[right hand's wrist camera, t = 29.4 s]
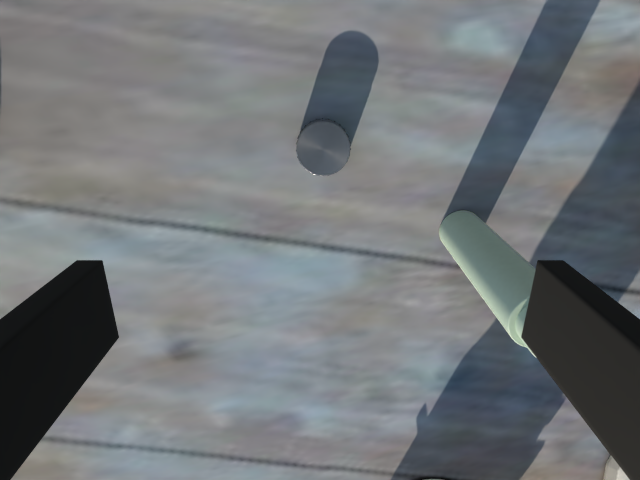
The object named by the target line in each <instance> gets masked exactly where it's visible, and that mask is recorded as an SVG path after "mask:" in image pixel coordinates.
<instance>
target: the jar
mask: <svg viewBox="0 0 640 480" xmlns="http://www.w3.org/2000/svg"><path fill="white" fill-rule="evenodd" d="M439 236H440V239H441V241H442V243H443V244H444V245H445V247H446V248H447V250H448V251H449V252H450V254H451V255H452V256H453V258H454V259H455V261H456V262H457V263H458V265H459V266H460V268H461V269H462V270H463V272H464V273H465V274H466V276H467V277H468V279H469V280H470V281H471V283H472V284H473V285H474V287H475V288H476V290H477V291H478V292H479V294H480V295H481V297H482V298H483V299H484V301H485V302H486V303H487V305H488V306H489V308H490V309H491V310H492V312H493V313H494V314H495V316H496V317H497V319H498V320H499V321H500V323H501V324H502V326H503V327H504V328H505V330H506V331H507V332H508V334H509V335H510V337H511V338H512V339H513V340H514V341H515V342H516V343H517V344H519V345H521V346H524V347H527V348H528V349H529V350H530V348H529V347H528V346H527V344H526V343H525V342H524V340H523V339H522V338H521V335H522V331H523V326H524V321H525V317H526V312H527V308H528V303H529V298H530V294H531V289H532V284H533V280H534V275H535V271H536V269H535V268H534V267H533V266H532V265H531V264H530V263H528V262H527V261H526V260H525V259H524V258H523V257H522V256H521V255H520V254H519V253H517V252H516V251H515V250H514V249H513V248H512V247H511V246H510V245H509V244H507V243H506V242H505V241H504V240H503V239H502V238H501V237H500V236H499V235H498V234H496V233H495V232H494V231H493V230H492V229H491V228H490V227H489V226H488V225H487V224H485V223H484V222H483V221H482V220H481V219H480V218H479V217H478V216H477V215H475V214H474V213H472V212H470V211H466V210H461V211H456V212H453V213H451V214H450V215H448V216H447V217H446V218H445V219H444V220H443V222H442V223H441V226H440V229H439ZM530 352H531V353H532V354H533V352H532V351H531V350H530ZM533 355H534V354H533ZM534 356H535V355H534ZM535 357H536V356H535ZM536 358H537V357H536Z"/></svg>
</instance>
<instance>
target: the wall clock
mask: <svg viewBox="0 0 640 480" xmlns="http://www.w3.org/2000/svg"><path fill="white" fill-rule="evenodd" d="M603 480H630V479H629V478H628V477H627V476H626V474H625V473H624V472H623V470H622V469H621V468H620V466H619V465H618V464H617V462H616V461H615V460H614V458H613V457H612V456H611V455H610V457H609V459H608V461H607V463H606V467H605V473H604V479H603Z"/></svg>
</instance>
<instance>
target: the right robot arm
mask: <svg viewBox="0 0 640 480" xmlns="http://www.w3.org/2000/svg"><path fill="white" fill-rule="evenodd" d="M118 338H119V335H118V331H117V326H116V322H115V317H114V312H113V308H112V303H111V298H110V294H109V289H108V284H107V280H106V275H105V271H104V266H103V261H102V260H77V261H76V262H74V263H73V264H72V265H70V266H69V267H68V268H66V269H65V270H64V271H63V272H61V273H60V274H59V275H57V276H56V277H55V278H53V279H52V280H51V281H50V282H48V283H47V284H46V285H44V286H43V287H42V288H40V289H39V290H38V291H37V292H35V293H34V294H33V295H31V296H30V297H29V298H27V299H26V300H25V301H24V302H22V303H21V304H20V305H18V306H17V307H16V308H14V309H13V310H12V311H11V312H9V313H8V314H7V315H5V316H4V317H3V318H1V319H0V480H10V479H11V478H12V477H13V476H14V474H15V473H16V472H17V470H18V469H19V468H20V466H21V465H22V464H23V462H24V461H25V460H26V458H27V457H28V456H29V455H30V453H31V452H32V451H33V449H34V448H35V447H36V445H37V444H38V443H39V441H40V440H41V439H42V437H43V436H44V435H45V434H46V432H47V431H48V430H49V428H50V427H51V426H52V424H53V423H54V422H55V420H56V419H57V418H58V417H59V415H60V414H61V413H62V411H63V410H64V409H65V407H66V406H67V405H68V403H69V402H70V401H71V399H72V398H73V397H74V396H75V394H76V393H77V392H78V390H79V389H80V388H81V386H82V385H83V384H84V382H85V381H86V380H87V378H88V377H89V376H90V375H91V373H92V372H93V371H94V369H95V368H96V367H97V365H98V364H99V363H100V361H101V360H102V359H103V357H104V356H105V355H106V354H107V352H108V351H109V350H110V348H111V347H112V346H113V344H114V343H115V342H116V340H117V339H118ZM521 338H522V339H523V340H524V342H525V343H526V344H527V346H528V347H529V348H530V350H531V351H532V352H533V354H534V355H535V356H536V357H537V359H538V360H539V361H540V363H541V364H542V365H543V367H544V368H545V369H546V371H547V372H548V373H549V375H550V376H551V377H552V378H553V380H554V381H555V382H556V384H557V385H558V386H559V388H560V389H561V390H562V392H563V393H564V394H565V396H566V397H567V398H568V399H569V401H570V402H571V403H572V405H573V406H574V407H575V409H576V410H577V411H578V413H579V414H580V415H581V417H582V418H583V419H584V420H585V422H586V423H587V424H588V426H589V427H590V428H591V430H592V431H593V432H594V434H595V435H596V436H597V437H598V439H599V440H600V441H601V443H602V444H603V445H604V447H605V448H606V449H607V451H608V452H609V453H610V455H611V456H612V457H613V458H614V460H615V461H616V462H617V464H618V465H619V466H620V468H621V469H622V470H623V472H624V473H625V474H626V476H627V477H628V478H629V479H630V480H640V319H639V318H637V317H636V316H635V315H633V314H632V313H631V312H629V311H628V310H627V309H626V308H624V307H623V306H622V305H620V304H619V303H618V302H616V301H615V300H614V299H613V298H611V297H610V296H609V295H607V294H606V293H605V292H603V291H602V290H601V289H600V288H598V287H597V286H596V285H594V284H593V283H592V282H590V281H589V280H588V279H587V278H585V277H584V276H583V275H581V274H580V273H579V272H577V271H576V270H575V269H574V268H572V267H571V266H570V265H568V264H567V263H566V262H564V261H563V260H538V261H537V266H536V271H535V275H534V280H533V284H532V289H531V294H530V298H529V303H528V308H527V312H526V317H525V321H524V326H523V331H522V335H521Z"/></svg>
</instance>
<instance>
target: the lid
mask: <svg viewBox="0 0 640 480" xmlns="http://www.w3.org/2000/svg"><path fill="white" fill-rule="evenodd" d="M297 139H298V141H297V143H296V145H297V147H296V151H297V158H298V159H299V161H300V163H301V165H302V166H303V167H304V168H305V169H306V170H307V171H309V172H310V173H312V174H315V175H319V176H328V175H332V174H334V173H336V172H338V171H339V170H341V169H342V168H343V167H344V165H345V164H346V162H347V160H348V158H349V156H350V150H351V148H350V141H349V139H348V135H347V134H346V131H345V129H343V128H342V127H341V125H340V124H337V123H336V122H335V121H331V120H329V119H328V120H327V119H323V118H322V119H319V120H317V119H316V120H315V121H313V122H310V123H309V124H308V125H305V127H304V129H303V130H301V132H300V135H299V136H298V138H297Z"/></svg>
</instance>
